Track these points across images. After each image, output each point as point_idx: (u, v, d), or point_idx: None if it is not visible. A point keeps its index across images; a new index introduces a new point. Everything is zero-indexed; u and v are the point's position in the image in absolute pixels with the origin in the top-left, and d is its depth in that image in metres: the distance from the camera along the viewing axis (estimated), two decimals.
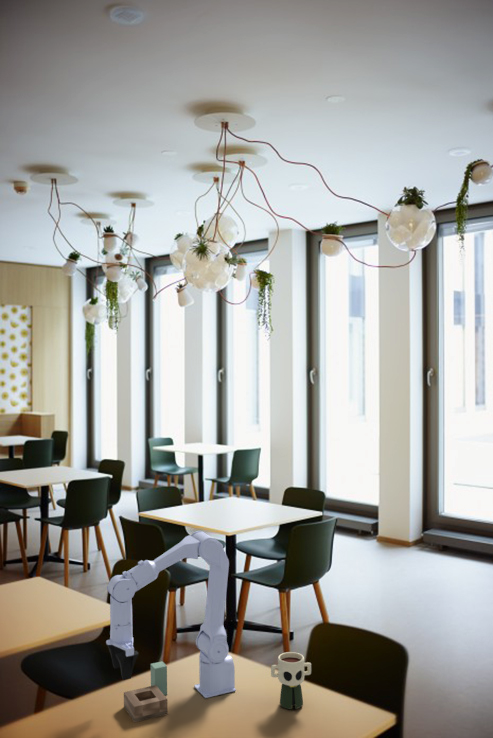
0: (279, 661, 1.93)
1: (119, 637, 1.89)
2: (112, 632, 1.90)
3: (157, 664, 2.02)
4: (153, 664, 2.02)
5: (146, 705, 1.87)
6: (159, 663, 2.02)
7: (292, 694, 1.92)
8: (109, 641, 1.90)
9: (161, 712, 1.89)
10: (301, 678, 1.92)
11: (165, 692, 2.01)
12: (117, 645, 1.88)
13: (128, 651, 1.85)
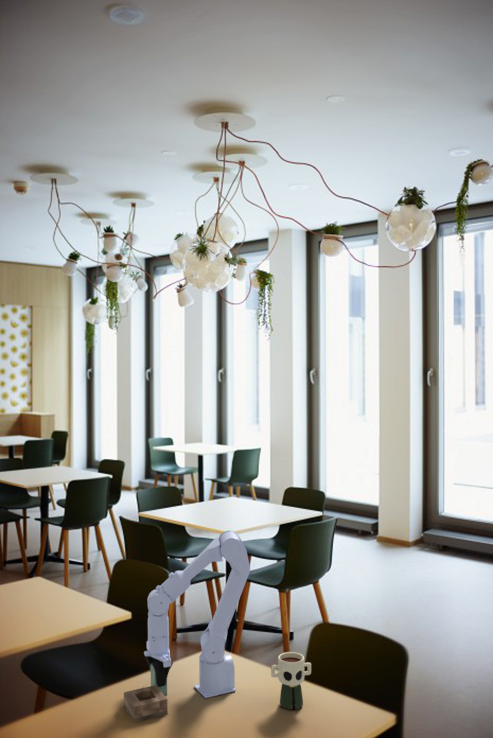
0: (279, 661, 1.93)
1: (157, 649, 1.98)
2: (150, 644, 1.99)
3: None
4: None
5: (146, 705, 1.87)
6: None
7: (292, 694, 1.92)
8: (147, 652, 2.00)
9: (161, 712, 1.89)
10: (301, 678, 1.92)
11: (165, 692, 2.01)
12: (155, 656, 1.98)
13: (166, 662, 1.95)
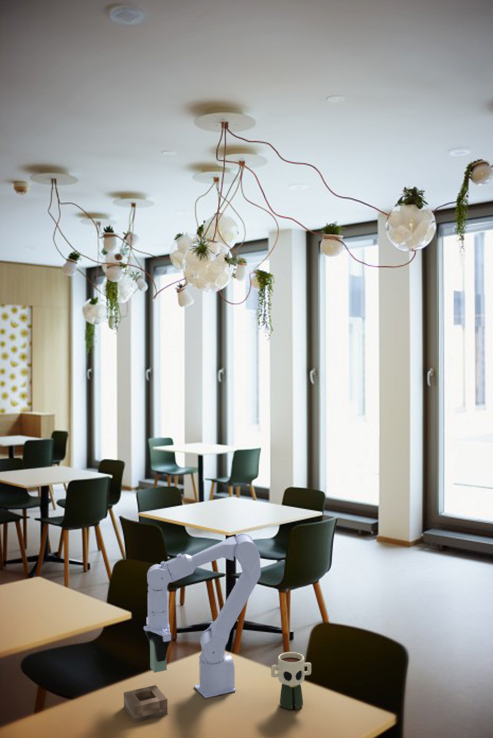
0: (279, 661, 1.93)
1: (157, 624, 1.98)
2: (149, 619, 1.99)
3: None
4: None
5: (146, 705, 1.87)
6: None
7: (292, 694, 1.92)
8: (146, 627, 1.99)
9: (161, 712, 1.89)
10: (301, 678, 1.92)
11: (164, 667, 2.00)
12: (154, 631, 1.97)
13: (165, 637, 1.94)
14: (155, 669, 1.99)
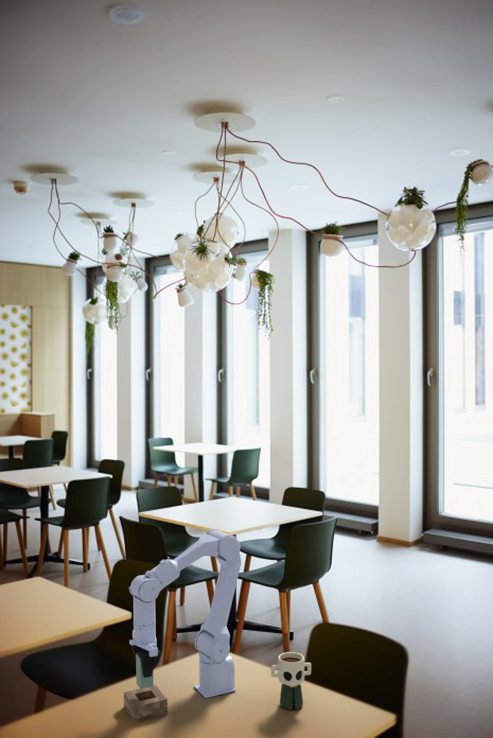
0: (279, 661, 1.93)
1: (143, 638, 1.89)
2: (135, 632, 1.90)
3: None
4: None
5: (146, 705, 1.87)
6: None
7: (292, 694, 1.92)
8: (132, 641, 1.90)
9: (161, 712, 1.89)
10: (301, 678, 1.92)
11: (151, 683, 1.91)
12: (140, 645, 1.88)
13: (152, 651, 1.85)
14: (141, 685, 1.90)
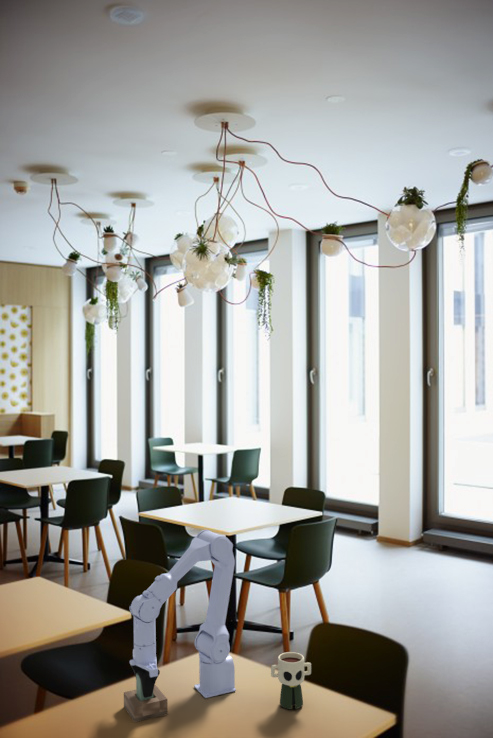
0: (279, 661, 1.93)
1: (143, 658, 1.89)
2: (136, 652, 1.90)
3: None
4: None
5: (146, 705, 1.87)
6: None
7: (292, 694, 1.92)
8: (132, 661, 1.90)
9: (161, 712, 1.89)
10: (301, 678, 1.92)
11: None
12: (141, 666, 1.88)
13: (152, 672, 1.85)
14: None
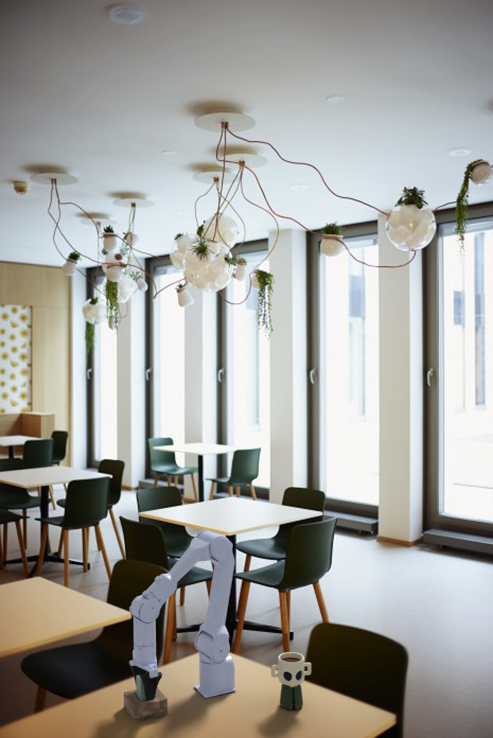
0: (279, 661, 1.93)
1: (143, 658, 1.89)
2: (136, 653, 1.90)
3: None
4: (139, 676, 1.92)
5: (146, 705, 1.87)
6: None
7: (292, 694, 1.92)
8: (132, 662, 1.90)
9: (161, 712, 1.89)
10: (301, 678, 1.92)
11: None
12: (141, 666, 1.88)
13: (152, 672, 1.85)
14: None
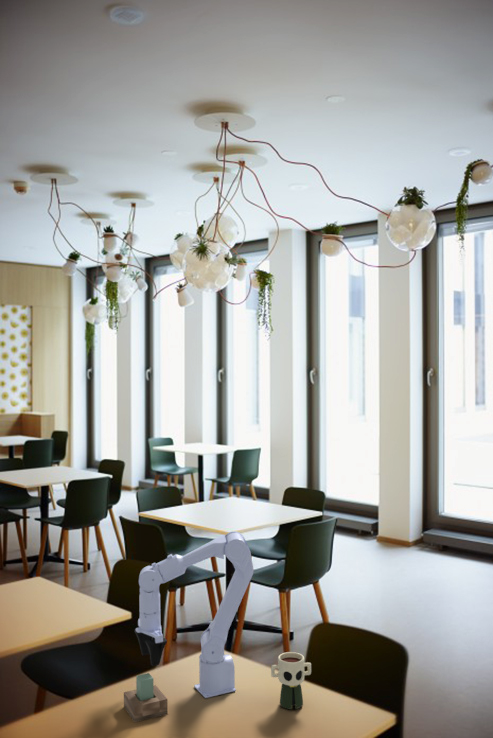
0: (279, 661, 1.93)
1: (149, 625, 1.99)
2: (141, 620, 1.99)
3: (143, 676, 1.92)
4: (139, 676, 1.92)
5: (146, 705, 1.87)
6: (145, 675, 1.93)
7: (292, 694, 1.92)
8: (138, 629, 2.00)
9: (161, 712, 1.89)
10: (301, 678, 1.92)
11: None
12: (146, 633, 1.98)
13: (157, 638, 1.95)
14: None
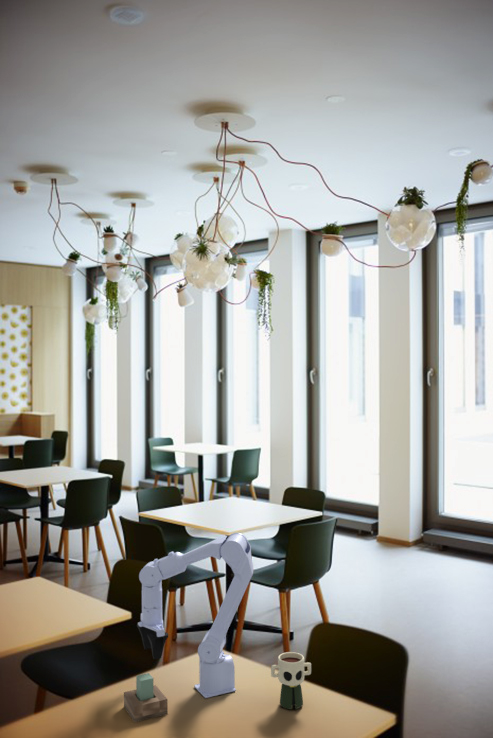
0: (279, 661, 1.93)
1: (151, 620, 2.03)
2: (144, 615, 2.04)
3: (143, 676, 1.92)
4: (139, 676, 1.92)
5: (146, 705, 1.87)
6: (145, 675, 1.93)
7: (292, 694, 1.92)
8: (141, 623, 2.04)
9: (161, 712, 1.89)
10: (301, 678, 1.92)
11: None
12: (148, 627, 2.02)
13: (159, 632, 1.99)
14: None
